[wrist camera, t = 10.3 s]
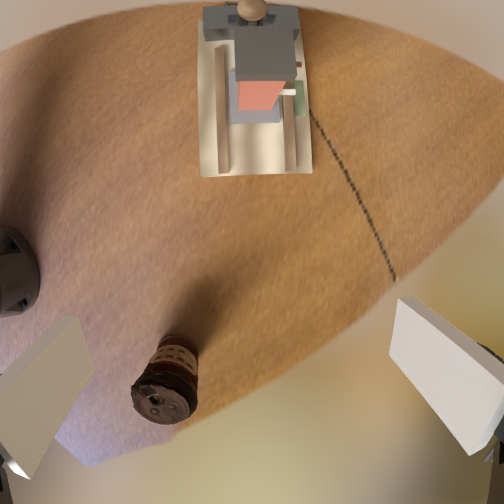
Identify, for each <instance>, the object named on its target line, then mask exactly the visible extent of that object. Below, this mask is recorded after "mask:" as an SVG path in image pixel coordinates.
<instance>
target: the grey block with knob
mask: <svg viewBox="0 0 504 504" xmlns="http://www.w3.org/2000/svg"><path fill="white" fill-rule="evenodd" d="M237 6H238V5H227V6H211V7H203V33H204V38H205V42H208V41H222V40H234V27H240V26H272V27H292V28H293V37H294V40H296V38H297V35H298V33H299V31H300V23H299V15H298V8H297V7H295V6H280V5H267V13H266V15H265V16H264V17H263V18H262V19H260V20H257V21H248V20H245V19H243V18H242V17H241V16H240V15H239V14H238V11H237Z"/></svg>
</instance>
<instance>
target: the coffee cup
mask: <svg viewBox="0 0 504 504" xmlns="http://www.w3.org/2000/svg"><path fill="white" fill-rule="evenodd" d="M197 384H198V350H197V348H196V346H195V344H194V343H193V342H192V341H190V340H189V339H187V338H185V337H182V336H169V337H166V338H164V339H163V340H162V341H160V342H159V343H158V348H157V352H156V353H155V354H154V355H153V356H152V358H151V359H150V360H149V363H148V365H147V367H146V368H145V370H144V372H143V374H142V375H141V376H140V377H139V378H138V380H136V382H135V384H134V385H132V386H131V396H132V400H133V403H134V408H135V410H136V411H137V412H138V413H139V414H140V415H142V416H143V417H144V418H146V419H147V420H149V421H151V422H154V423H158V424H165V425H167V424H175V423H178V422H180V421H183V420H185V419H186V418H188V417H190V415H191V414H193V412H194V411H195V410H196V407H197V403H198V400H197V388H198V386H197Z"/></svg>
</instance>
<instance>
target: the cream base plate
mask: <svg viewBox="0 0 504 504" xmlns="http://www.w3.org/2000/svg"><path fill="white" fill-rule="evenodd" d="M299 23H300V19H299ZM294 46H295V56H296V66H297V76H296V78H295V80H294V81H286V83H285V85H284V87H283V88H282V89H295V90H296V94H295V95H279V109H280V122H279V123H249V124H231V119H230V93H229V72H230V71H235V52H234V40H222V41H208V42H205V38H204V33H203V20H198V122H199V151H200V174H201V177H216V176H233V175H254V174H288V173H312V152H311V134H310V118H309V104H308V92H307V80H306V70H305V60H304V51H303V42H302V34H301V26H300V31H299V33H298V35H297V38H296V40H294Z"/></svg>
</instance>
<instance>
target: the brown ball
mask: <svg viewBox="0 0 504 504" xmlns="http://www.w3.org/2000/svg"><path fill="white" fill-rule="evenodd" d="M237 11H238V14H239V15H240V16H241V17H242V18H243V19H245V20H248V21H257V20H260V19H262V18H263V17H264V16H265V15H266V13H267V4H266V2H265V1H264V0H240V2H239V3H238V6H237Z"/></svg>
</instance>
